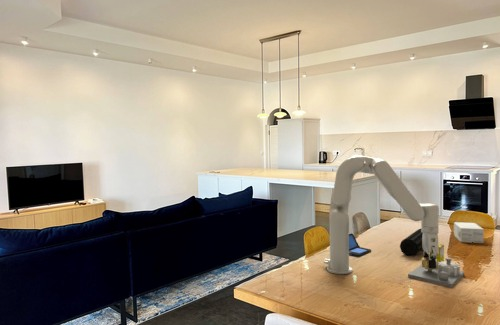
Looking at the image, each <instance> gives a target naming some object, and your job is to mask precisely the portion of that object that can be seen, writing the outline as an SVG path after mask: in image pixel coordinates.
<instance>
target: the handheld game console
mask: <svg viewBox="0 0 500 325" xmlns="http://www.w3.org/2000/svg"><path fill="white" fill-rule="evenodd" d="M371 252H372V249H371V248H366V247H362V246H360V245H359V243H358V242H357V239H356V236H355V235H354V233H349V256H351V257H352V256H353V257H357V258H359V257H361V256H364V255H367V254H369V253H371Z"/></svg>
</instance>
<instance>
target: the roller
mask: <svg viewBox="0 0 500 325" xmlns="http://www.w3.org/2000/svg"><path fill="white" fill-rule="evenodd" d="M422 236H423V233H422V232H421V228H419V229H417V230H415V231H413V233H411V234H409V235H408V236H406V237H405V238H404V239H402V240H400V241H401V242H400V244H399V248H400V252H402V253H403V255H405V256H407V257H414V256H415V255H418V253H420V251H421V250H423V248H422Z"/></svg>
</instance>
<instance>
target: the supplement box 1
mask: <svg viewBox="0 0 500 325" xmlns="http://www.w3.org/2000/svg"><path fill="white" fill-rule="evenodd" d="M430 253H432V252H430ZM431 256H433V255H431ZM436 259H437V266H438V262H441V261H443V262H445V244H443V243H439V254H437V256H436Z"/></svg>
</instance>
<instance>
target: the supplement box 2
mask: <svg viewBox="0 0 500 325" xmlns="http://www.w3.org/2000/svg"><path fill="white" fill-rule="evenodd" d="M484 230H485V229H484V228H482V227H481V226H480V225H479V224H477V223H476V222H461V221H460V222H459V221H455V222H453V236H454V237H455V238H456V239H457V240H458V241H459V242H460V243H472V242H473V244H474V243H477V244H478V243H479V244H484V241H485V240H484V239H485V238H484V235H485V234H484V233H485V232H484Z"/></svg>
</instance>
